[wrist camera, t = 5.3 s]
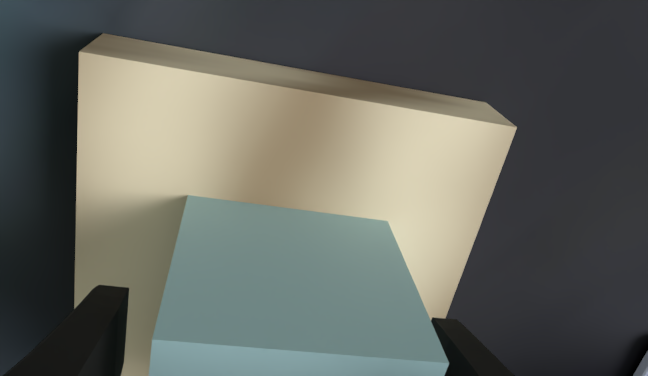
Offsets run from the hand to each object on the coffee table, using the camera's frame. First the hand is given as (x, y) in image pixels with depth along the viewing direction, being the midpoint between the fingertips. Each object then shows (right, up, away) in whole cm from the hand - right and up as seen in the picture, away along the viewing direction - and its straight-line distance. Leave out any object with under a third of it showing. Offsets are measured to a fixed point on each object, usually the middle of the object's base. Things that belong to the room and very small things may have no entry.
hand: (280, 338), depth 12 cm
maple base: (-1, +2, +4) cm, 4 cm away
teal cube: (0, +1, +2) cm, 2 cm away
